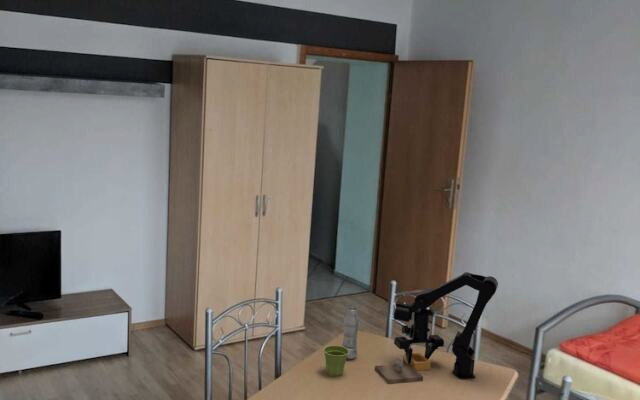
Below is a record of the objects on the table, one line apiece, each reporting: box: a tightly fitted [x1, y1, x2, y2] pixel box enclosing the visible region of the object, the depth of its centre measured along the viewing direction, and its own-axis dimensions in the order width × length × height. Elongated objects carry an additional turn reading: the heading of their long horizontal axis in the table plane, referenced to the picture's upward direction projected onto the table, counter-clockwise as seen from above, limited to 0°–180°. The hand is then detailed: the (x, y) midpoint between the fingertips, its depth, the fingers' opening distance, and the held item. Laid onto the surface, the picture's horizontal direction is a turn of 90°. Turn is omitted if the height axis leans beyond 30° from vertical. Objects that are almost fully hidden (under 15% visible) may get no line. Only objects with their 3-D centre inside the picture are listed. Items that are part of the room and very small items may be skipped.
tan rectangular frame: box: [403, 352, 432, 372], centre depth 254 cm, size 7×9×3 cm
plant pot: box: [323, 345, 349, 377], centre depth 242 cm, size 9×9×9 cm
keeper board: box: [374, 356, 424, 385], centre depth 244 cm, size 14×12×7 cm
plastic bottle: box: [341, 306, 361, 360], centre depth 255 cm, size 6×7×20 cm
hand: (417, 362), depth 254 cm, fingers closed on tan rectangular frame, 7 cm apart
